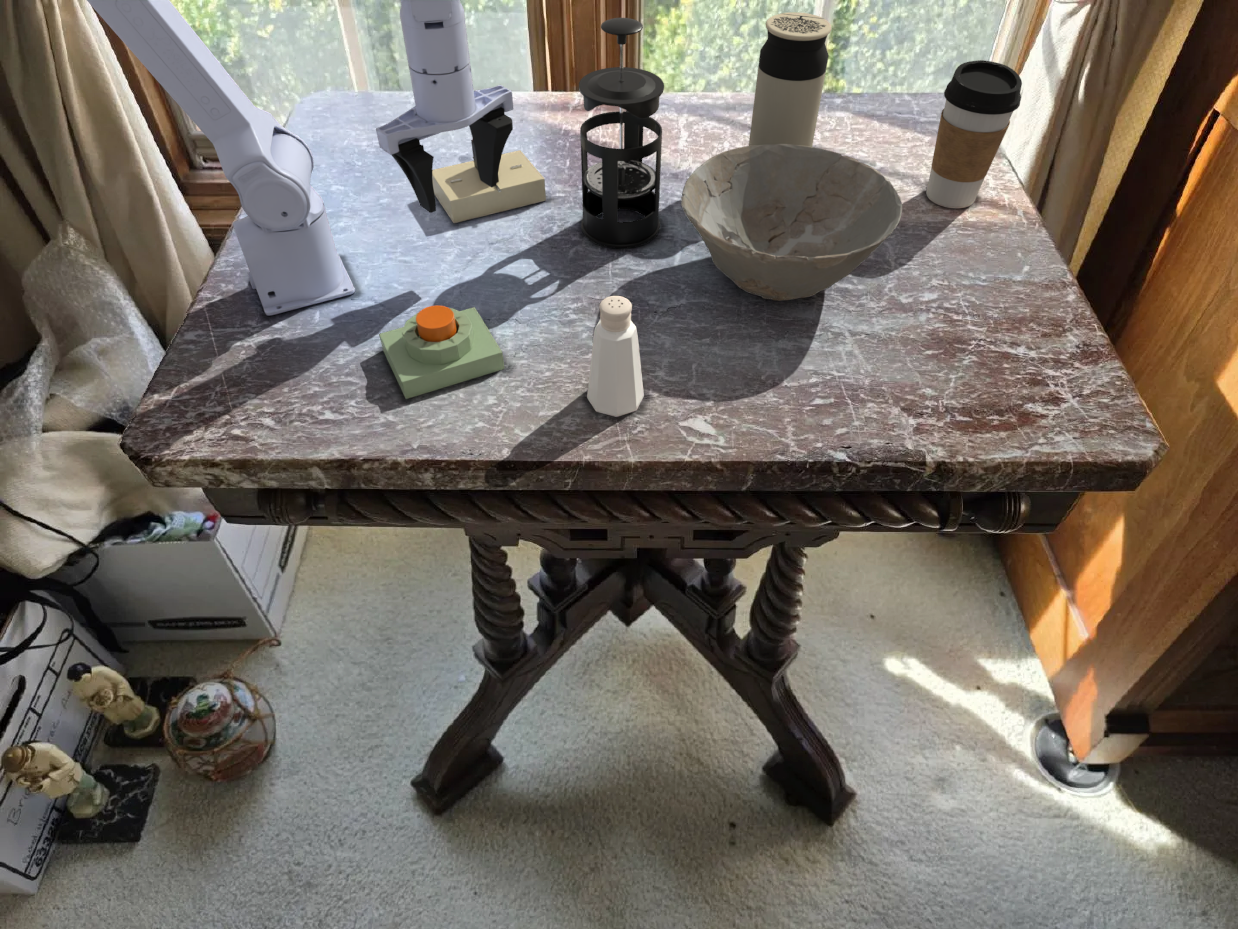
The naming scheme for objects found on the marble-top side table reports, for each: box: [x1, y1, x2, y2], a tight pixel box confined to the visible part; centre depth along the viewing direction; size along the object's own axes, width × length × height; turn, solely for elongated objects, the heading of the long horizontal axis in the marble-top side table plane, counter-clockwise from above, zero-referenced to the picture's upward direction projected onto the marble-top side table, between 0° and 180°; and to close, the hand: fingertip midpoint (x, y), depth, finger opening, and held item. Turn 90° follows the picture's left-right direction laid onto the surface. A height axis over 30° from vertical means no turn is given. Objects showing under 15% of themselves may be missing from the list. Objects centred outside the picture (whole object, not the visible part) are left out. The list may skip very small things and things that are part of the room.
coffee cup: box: [925, 59, 1023, 209], centre depth 101 cm, size 8×8×15 cm
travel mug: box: [748, 11, 832, 147], centre depth 104 cm, size 8×8×18 cm
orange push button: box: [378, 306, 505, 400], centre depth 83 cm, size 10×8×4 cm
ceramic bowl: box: [680, 144, 903, 302], centre depth 91 cm, size 22×23×10 cm
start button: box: [416, 304, 456, 342], centre depth 81 cm, size 4×4×2 cm
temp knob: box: [470, 138, 499, 182], centre depth 102 cm, size 5×1×4 cm, turn 26°
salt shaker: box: [586, 295, 645, 418], centre depth 77 cm, size 5×5×11 cm
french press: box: [578, 17, 665, 250], centre depth 93 cm, size 12×9×23 cm
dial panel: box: [432, 149, 547, 224], centre depth 105 cm, size 12×9×3 cm
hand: (458, 195), depth 89 cm, fingers open, 7 cm apart
